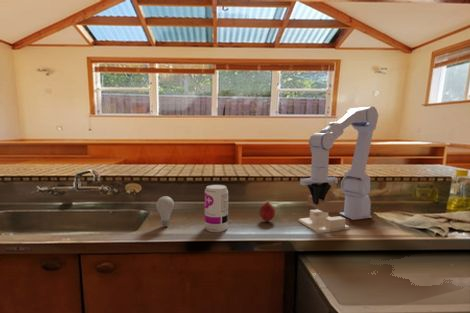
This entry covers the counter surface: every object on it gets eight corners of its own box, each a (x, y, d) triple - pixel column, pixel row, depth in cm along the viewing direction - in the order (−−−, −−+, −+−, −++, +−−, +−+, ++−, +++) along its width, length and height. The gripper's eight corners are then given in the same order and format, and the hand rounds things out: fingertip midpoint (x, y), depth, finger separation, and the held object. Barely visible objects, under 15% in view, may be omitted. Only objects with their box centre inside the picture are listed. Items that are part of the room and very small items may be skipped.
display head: (327, 218, 102) (327, 208, 102) (349, 229, 91) (349, 218, 90) (298, 221, 98) (299, 211, 98) (317, 233, 87) (318, 221, 86)
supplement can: (210, 234, 85) (210, 190, 83) (201, 226, 92) (201, 185, 91) (231, 230, 89) (232, 188, 87) (221, 222, 96) (222, 183, 94)
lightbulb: (177, 224, 94) (177, 195, 93) (168, 230, 88) (167, 199, 87) (163, 222, 96) (162, 193, 95) (153, 228, 90) (152, 197, 89)
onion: (274, 225, 94) (274, 203, 93) (258, 223, 95) (258, 202, 94) (274, 219, 100) (275, 199, 99) (260, 218, 101) (260, 198, 100)
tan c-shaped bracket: (325, 203, 100) (325, 194, 100) (344, 211, 90) (344, 201, 90) (307, 204, 98) (308, 195, 97) (324, 212, 88) (325, 202, 88)
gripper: (329, 164, 97) (327, 199, 99) (296, 165, 93) (294, 202, 94) (342, 167, 91) (340, 204, 92) (307, 168, 86) (305, 207, 88)
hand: (318, 203), depth 93 cm, fingers closed on tan c-shaped bracket, 2 cm apart
